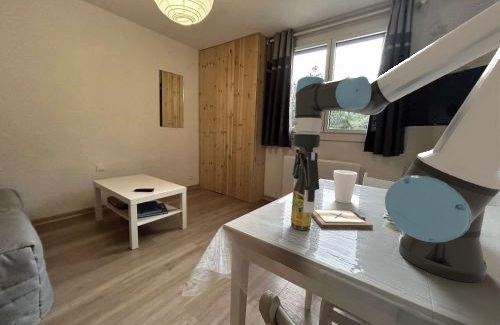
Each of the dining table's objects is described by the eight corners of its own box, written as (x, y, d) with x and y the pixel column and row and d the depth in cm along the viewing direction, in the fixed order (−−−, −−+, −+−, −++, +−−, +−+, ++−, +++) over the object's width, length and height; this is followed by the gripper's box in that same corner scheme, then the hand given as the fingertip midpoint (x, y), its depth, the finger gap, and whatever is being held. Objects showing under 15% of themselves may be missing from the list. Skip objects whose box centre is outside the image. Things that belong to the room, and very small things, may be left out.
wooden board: (372, 228, 66) (373, 222, 66) (322, 228, 65) (322, 221, 65) (351, 213, 79) (352, 207, 78) (309, 212, 78) (309, 206, 78)
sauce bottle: (286, 224, 68) (290, 163, 65) (303, 221, 70) (306, 162, 67) (298, 233, 61) (302, 166, 59) (315, 230, 64) (320, 165, 61)
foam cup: (358, 204, 88) (361, 174, 87) (336, 204, 89) (339, 173, 87) (348, 198, 98) (351, 170, 96) (328, 197, 98) (330, 169, 96)
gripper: (285, 133, 74) (283, 193, 76) (306, 133, 49) (300, 220, 52) (307, 133, 74) (303, 193, 77) (337, 134, 50) (330, 220, 53)
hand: (302, 204), depth 65 cm, fingers open, 12 cm apart
